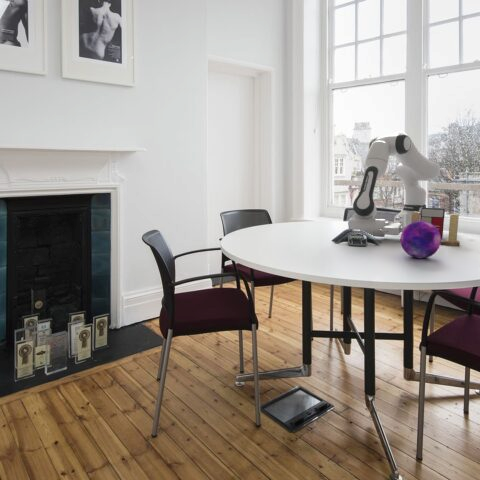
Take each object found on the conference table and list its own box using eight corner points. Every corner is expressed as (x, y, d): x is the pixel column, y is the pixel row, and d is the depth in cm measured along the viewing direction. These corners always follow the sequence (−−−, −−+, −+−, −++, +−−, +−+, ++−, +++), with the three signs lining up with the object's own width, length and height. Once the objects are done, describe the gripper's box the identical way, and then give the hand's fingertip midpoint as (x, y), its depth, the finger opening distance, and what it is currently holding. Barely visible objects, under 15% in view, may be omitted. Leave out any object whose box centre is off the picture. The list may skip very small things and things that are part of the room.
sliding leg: (408, 238, 213) (410, 212, 211) (409, 237, 217) (410, 211, 215) (419, 239, 211) (421, 212, 208) (420, 237, 215) (421, 211, 213)
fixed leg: (446, 241, 206) (448, 214, 204) (446, 240, 210) (448, 213, 208) (458, 242, 204) (460, 215, 202) (458, 241, 208) (460, 214, 206)
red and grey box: (419, 236, 230) (421, 208, 227) (419, 235, 233) (422, 207, 231) (442, 238, 225) (444, 209, 222) (442, 237, 228) (444, 208, 226)
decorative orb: (413, 262, 169) (416, 224, 166) (392, 255, 183) (394, 219, 181) (447, 261, 172) (450, 223, 170) (423, 253, 187) (426, 218, 184)
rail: (399, 242, 214) (399, 238, 213) (401, 240, 220) (401, 236, 220) (459, 246, 203) (459, 243, 203) (458, 243, 209) (459, 240, 209)
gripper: (378, 224, 210) (409, 226, 204) (384, 219, 228) (412, 220, 222) (378, 237, 211) (408, 239, 205) (383, 231, 229) (411, 233, 224)
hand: (410, 229), depth 214 cm, fingers closed, pressing on sliding leg
